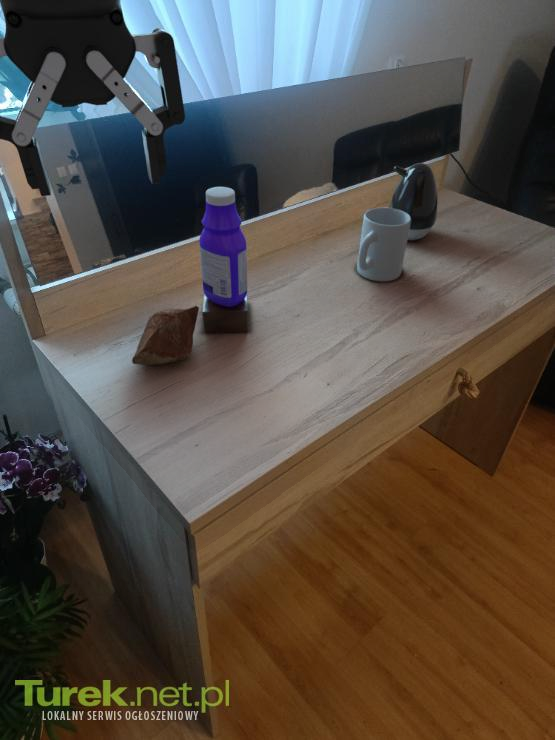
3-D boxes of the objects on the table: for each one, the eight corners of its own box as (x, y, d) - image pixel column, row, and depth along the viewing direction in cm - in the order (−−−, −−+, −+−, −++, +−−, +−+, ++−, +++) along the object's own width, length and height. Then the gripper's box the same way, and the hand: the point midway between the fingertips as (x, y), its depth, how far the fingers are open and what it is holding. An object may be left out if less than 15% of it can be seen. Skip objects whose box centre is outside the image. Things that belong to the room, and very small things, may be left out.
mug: (371, 256, 100) (378, 203, 93) (408, 269, 96) (420, 215, 89) (338, 278, 93) (344, 223, 86) (377, 294, 89) (387, 237, 82)
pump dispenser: (384, 223, 113) (395, 154, 103) (430, 227, 112) (446, 157, 102) (382, 242, 105) (394, 169, 96) (432, 247, 104) (449, 174, 94)
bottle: (254, 298, 80) (252, 191, 69) (231, 313, 76) (225, 203, 65) (220, 284, 83) (213, 179, 72) (197, 298, 80) (186, 190, 69)
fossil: (193, 303, 79) (181, 276, 70) (223, 342, 78) (216, 320, 68) (126, 349, 77) (105, 328, 68) (157, 391, 76) (139, 375, 66)
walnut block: (204, 333, 79) (202, 312, 77) (206, 305, 85) (205, 285, 83) (248, 331, 80) (247, 311, 77) (247, 305, 86) (246, 284, 83)
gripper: (153, -77, 34) (179, 164, 45) (-80, -86, 30) (8, 180, 41) (174, -82, 29) (198, 193, 39) (-105, -94, 25) (4, 215, 35)
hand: (101, 186), depth 40 cm, fingers open, 8 cm apart
